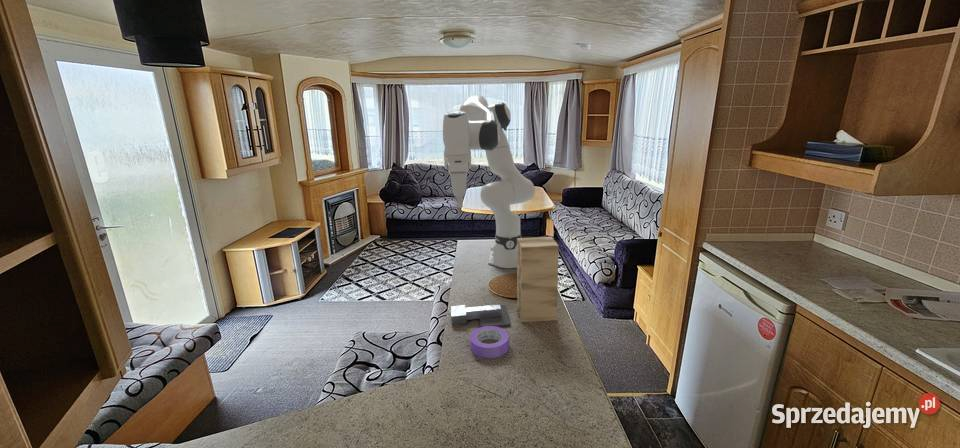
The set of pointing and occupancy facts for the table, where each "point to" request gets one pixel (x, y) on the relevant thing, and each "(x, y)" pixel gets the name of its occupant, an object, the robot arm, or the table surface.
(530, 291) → the oak post
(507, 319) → the mat
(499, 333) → the masking tape
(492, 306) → the bar
